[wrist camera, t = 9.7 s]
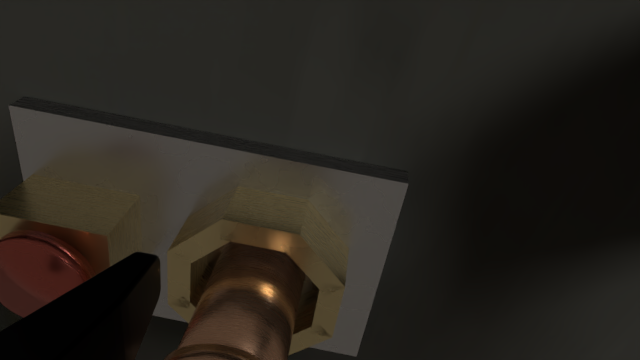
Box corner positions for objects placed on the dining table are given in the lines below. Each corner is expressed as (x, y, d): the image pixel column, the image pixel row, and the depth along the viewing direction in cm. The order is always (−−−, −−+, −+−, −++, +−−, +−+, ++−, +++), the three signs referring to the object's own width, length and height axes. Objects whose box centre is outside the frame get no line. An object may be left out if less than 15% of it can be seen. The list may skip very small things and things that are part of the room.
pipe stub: (320, 227, 22) (289, 382, 15) (307, 301, 24) (276, 464, 17) (219, 209, 22) (143, 354, 15) (217, 284, 24) (150, 439, 17)
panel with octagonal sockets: (407, 171, 21) (413, 249, 16) (357, 341, 26) (351, 434, 22) (23, 96, 21) (-75, 152, 17) (56, 280, 27) (-11, 359, 22)
